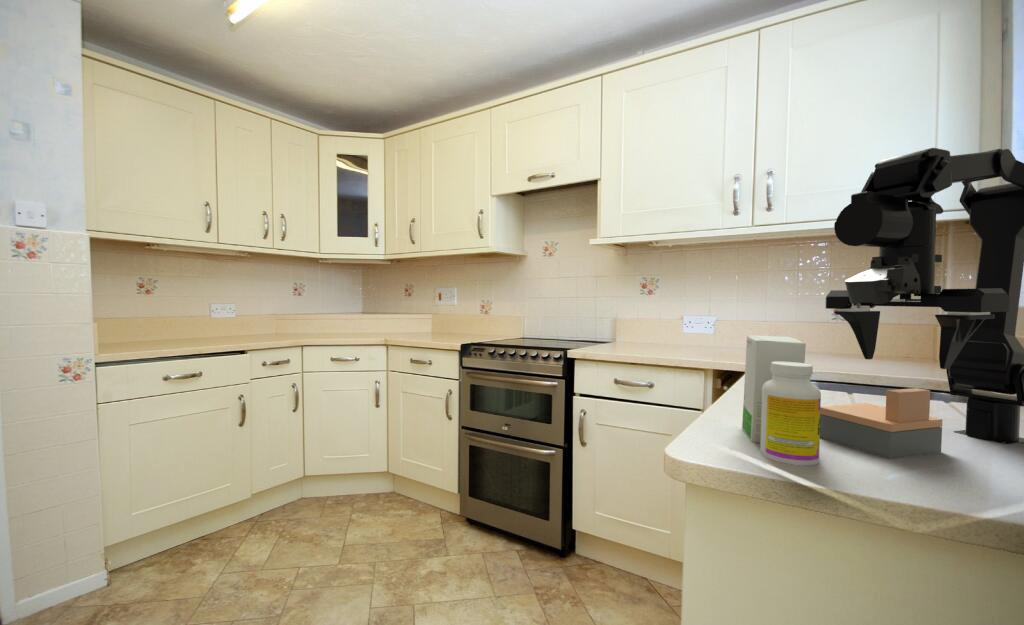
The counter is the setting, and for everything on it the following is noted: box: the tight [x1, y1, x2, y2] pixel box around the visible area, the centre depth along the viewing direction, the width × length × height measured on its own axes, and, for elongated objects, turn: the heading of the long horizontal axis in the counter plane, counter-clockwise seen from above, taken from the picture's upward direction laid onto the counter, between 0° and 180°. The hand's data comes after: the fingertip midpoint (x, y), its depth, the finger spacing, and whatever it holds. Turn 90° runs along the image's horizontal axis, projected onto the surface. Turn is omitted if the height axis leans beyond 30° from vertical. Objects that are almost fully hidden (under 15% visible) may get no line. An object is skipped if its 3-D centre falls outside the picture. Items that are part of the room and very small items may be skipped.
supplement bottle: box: [759, 361, 822, 466], centre depth 60 cm, size 7×7×13 cm
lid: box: [820, 387, 943, 432], centre depth 65 cm, size 10×10×5 cm
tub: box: [820, 414, 943, 460], centre depth 66 cm, size 10×10×4 cm
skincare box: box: [741, 334, 807, 443], centre depth 69 cm, size 8×7×16 cm
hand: (903, 363), depth 62 cm, fingers open, 9 cm apart
